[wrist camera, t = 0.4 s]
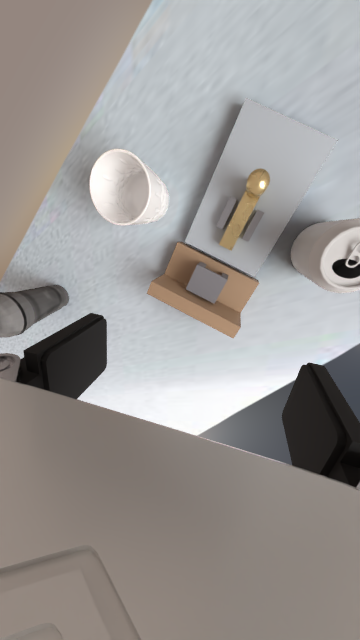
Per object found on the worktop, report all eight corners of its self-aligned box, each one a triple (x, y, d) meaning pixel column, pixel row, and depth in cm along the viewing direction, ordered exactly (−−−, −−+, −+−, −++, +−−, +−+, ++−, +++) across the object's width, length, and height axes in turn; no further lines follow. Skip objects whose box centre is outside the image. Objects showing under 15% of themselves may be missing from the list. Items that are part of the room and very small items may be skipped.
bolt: (251, 176, 29) (254, 164, 24) (268, 183, 29) (274, 174, 24) (218, 243, 33) (214, 245, 28) (232, 250, 33) (231, 254, 28)
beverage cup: (71, 279, 44) (-44, 313, 26) (77, 314, 47) (-24, 366, 29) (40, 276, 46) (-89, 307, 28) (47, 310, 49) (-66, 357, 30)
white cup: (118, 184, 36) (78, 169, 27) (162, 160, 33) (133, 133, 24) (138, 234, 38) (106, 235, 29) (180, 214, 35) (160, 209, 26)
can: (279, 266, 34) (298, 282, 24) (305, 214, 31) (341, 206, 21) (328, 283, 34) (370, 308, 23) (359, 232, 31) (425, 233, 20)
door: (238, 102, 29) (238, 59, 22) (339, 149, 28) (373, 121, 21) (163, 282, 40) (146, 293, 33) (234, 318, 39) (233, 338, 32)
